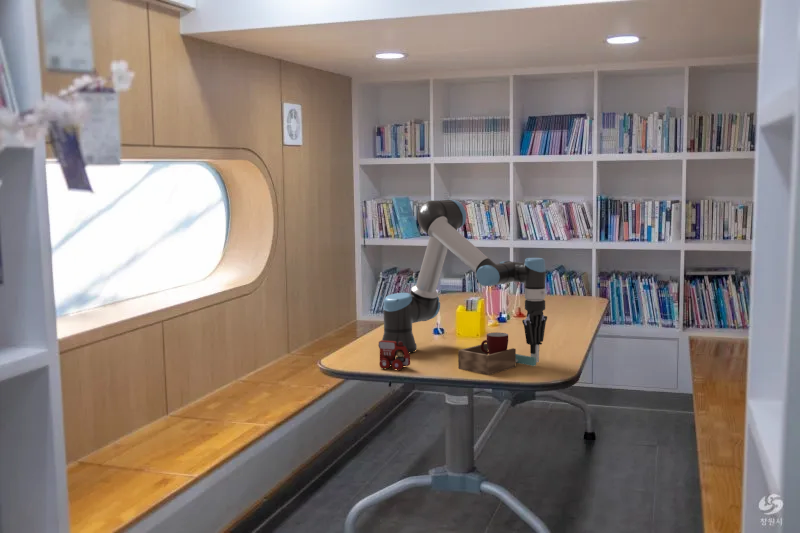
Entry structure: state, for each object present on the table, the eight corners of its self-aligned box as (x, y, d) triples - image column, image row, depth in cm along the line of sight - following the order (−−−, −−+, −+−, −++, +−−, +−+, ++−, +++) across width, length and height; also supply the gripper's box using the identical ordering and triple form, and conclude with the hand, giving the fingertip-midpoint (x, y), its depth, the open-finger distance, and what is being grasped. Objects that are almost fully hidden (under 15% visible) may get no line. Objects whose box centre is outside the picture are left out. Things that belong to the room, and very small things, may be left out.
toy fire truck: (406, 371, 295) (405, 343, 294) (375, 369, 299) (375, 341, 298) (413, 367, 301) (412, 340, 300) (383, 364, 306) (382, 338, 305)
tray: (466, 364, 301) (466, 356, 300) (493, 357, 312) (493, 349, 312) (509, 373, 287) (509, 365, 286) (536, 365, 298) (536, 357, 297)
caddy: (458, 368, 298) (458, 350, 297) (485, 361, 309) (485, 343, 308) (488, 374, 287) (488, 355, 287) (515, 367, 299) (515, 348, 298)
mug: (478, 362, 299) (478, 335, 297) (482, 357, 306) (482, 331, 305) (506, 363, 295) (506, 337, 294) (510, 358, 303) (510, 332, 302)
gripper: (533, 302, 289) (532, 366, 292) (553, 298, 298) (553, 360, 301) (516, 300, 294) (516, 363, 297) (536, 296, 304) (536, 357, 306)
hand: (534, 361), depth 299 cm, fingers closed
